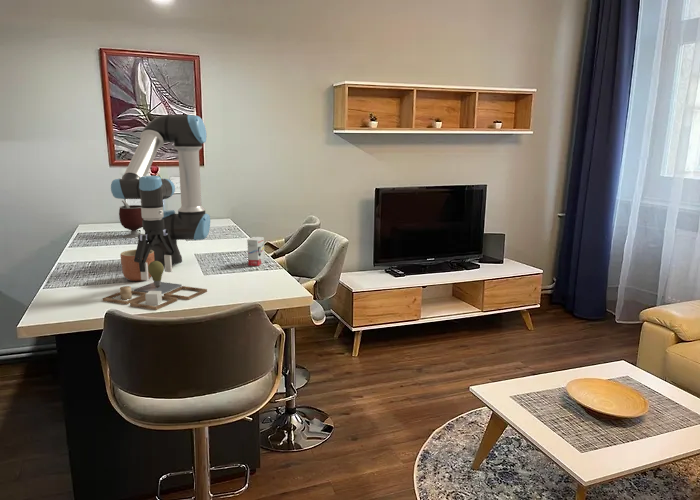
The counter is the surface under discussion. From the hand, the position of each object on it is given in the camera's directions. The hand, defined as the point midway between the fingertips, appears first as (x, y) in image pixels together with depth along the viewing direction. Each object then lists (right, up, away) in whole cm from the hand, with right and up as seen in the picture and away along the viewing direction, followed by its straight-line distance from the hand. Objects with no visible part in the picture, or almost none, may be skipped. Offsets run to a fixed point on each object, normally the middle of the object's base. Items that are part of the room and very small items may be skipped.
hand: (157, 275), depth 196 cm
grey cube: (+5, -9, -16) cm, 19 cm away
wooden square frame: (-7, -7, -11) cm, 15 cm away
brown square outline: (+12, -6, -6) cm, 15 cm away
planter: (-12, -2, +14) cm, 19 cm away
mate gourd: (-51, +17, +102) cm, 115 cm away
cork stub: (-7, -7, -11) cm, 15 cm away
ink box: (+30, +3, +40) cm, 50 cm away
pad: (0, -5, +1) cm, 5 cm away
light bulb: (0, -4, +1) cm, 4 cm away
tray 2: (+5, -9, -16) cm, 19 cm away
